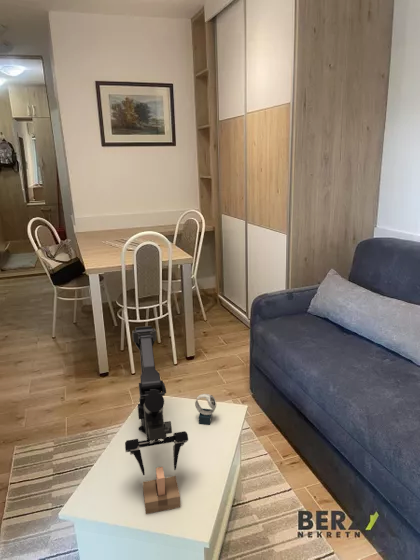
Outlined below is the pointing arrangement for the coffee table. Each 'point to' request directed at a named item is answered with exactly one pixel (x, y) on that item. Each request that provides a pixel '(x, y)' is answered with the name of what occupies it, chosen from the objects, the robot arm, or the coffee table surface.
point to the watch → (206, 414)
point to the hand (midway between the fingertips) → (159, 472)
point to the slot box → (161, 502)
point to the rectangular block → (160, 481)
